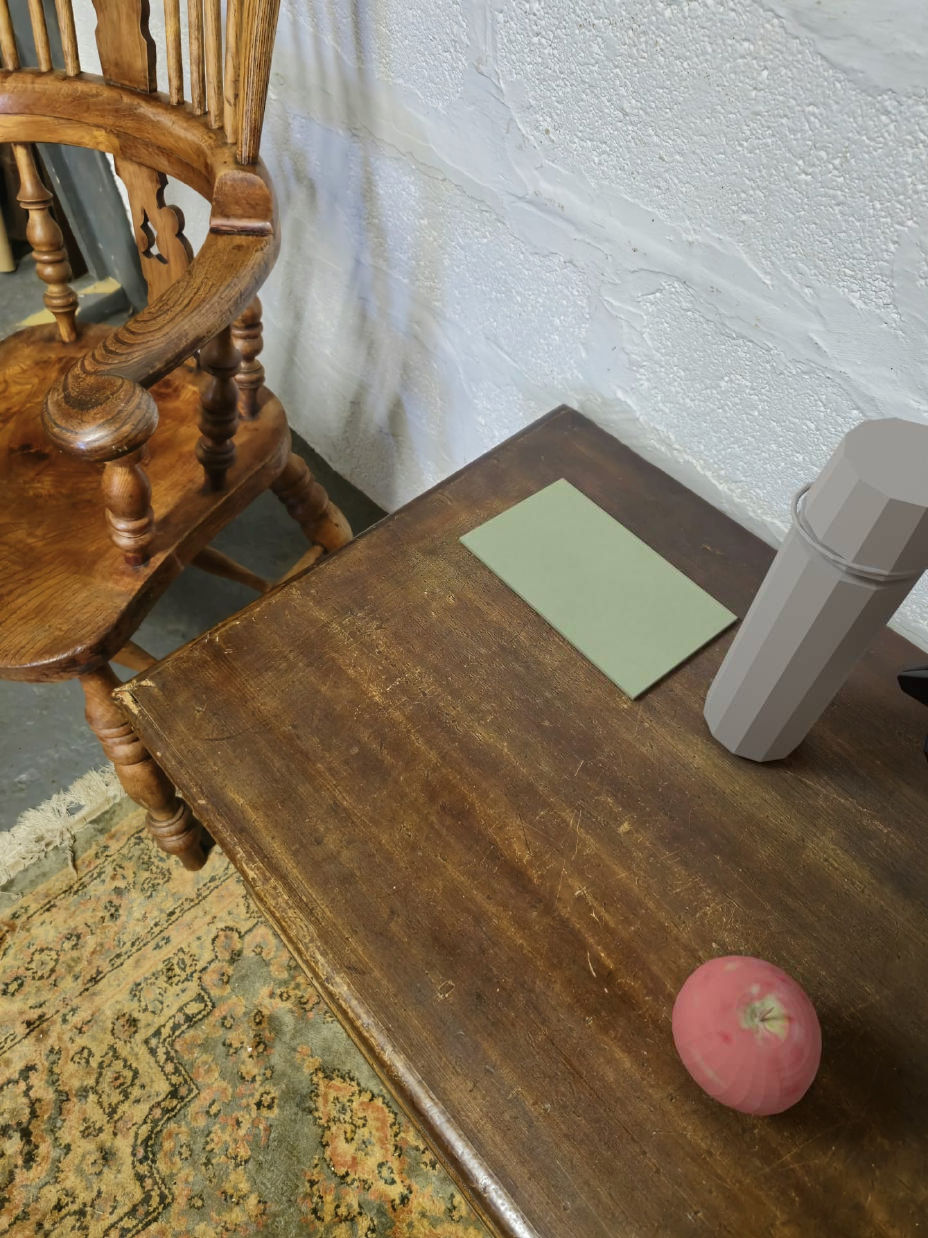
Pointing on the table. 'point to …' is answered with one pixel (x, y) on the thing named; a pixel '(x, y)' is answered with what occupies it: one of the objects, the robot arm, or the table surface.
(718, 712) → the water bottle
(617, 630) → the mat
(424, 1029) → the table surface
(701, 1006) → the apple
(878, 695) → the table surface
